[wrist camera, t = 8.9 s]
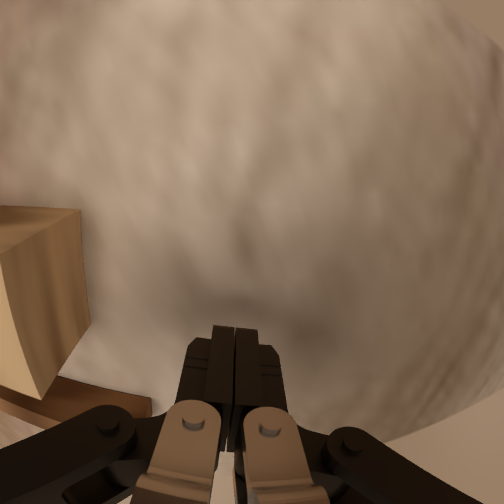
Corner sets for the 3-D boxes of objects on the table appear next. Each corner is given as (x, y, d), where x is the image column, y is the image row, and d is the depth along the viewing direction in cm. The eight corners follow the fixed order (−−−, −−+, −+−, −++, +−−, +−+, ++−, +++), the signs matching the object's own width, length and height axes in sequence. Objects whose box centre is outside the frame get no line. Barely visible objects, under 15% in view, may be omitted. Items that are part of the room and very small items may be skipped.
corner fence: (161, 80, 11) (133, 61, 7) (152, 413, 17) (141, 457, 13) (-55, 107, 9) (-94, 110, 6) (-21, 359, 15) (-43, 386, 12)
